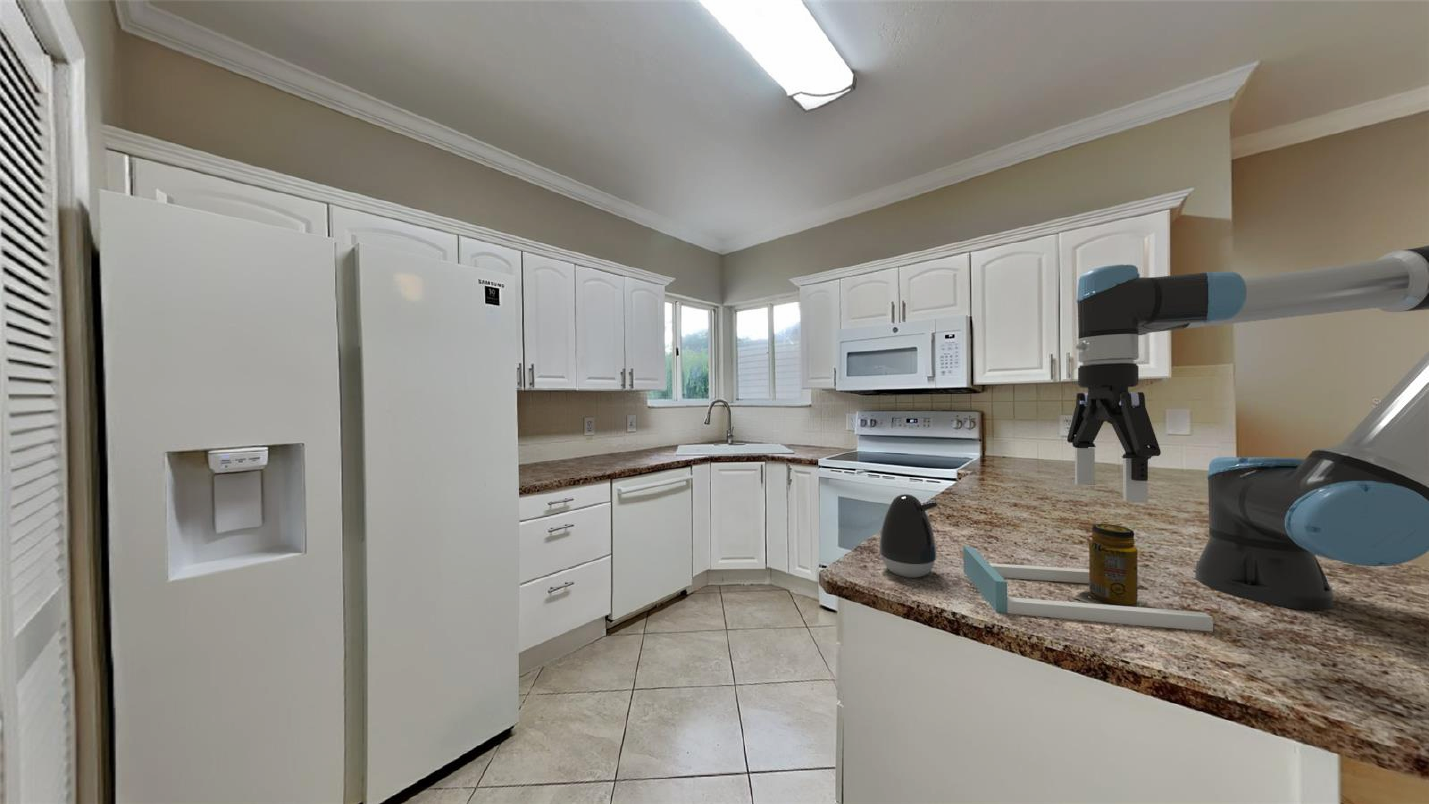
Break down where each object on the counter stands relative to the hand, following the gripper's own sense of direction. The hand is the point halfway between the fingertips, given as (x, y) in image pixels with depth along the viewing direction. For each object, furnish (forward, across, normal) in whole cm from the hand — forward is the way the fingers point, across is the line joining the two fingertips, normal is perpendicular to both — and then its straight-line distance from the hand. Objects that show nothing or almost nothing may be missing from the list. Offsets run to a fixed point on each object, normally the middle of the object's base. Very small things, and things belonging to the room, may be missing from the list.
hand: (1107, 492), depth 75 cm
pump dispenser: (+18, -6, -30) cm, 35 cm away
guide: (+18, 0, -5) cm, 18 cm away
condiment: (+18, 0, 0) cm, 18 cm away
